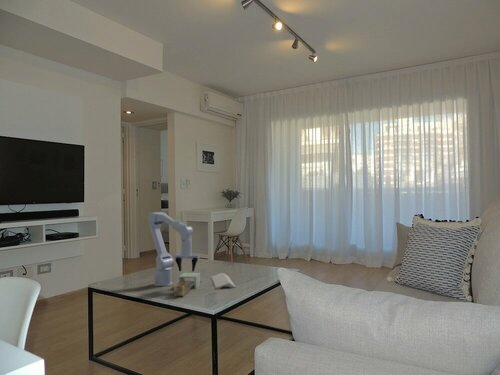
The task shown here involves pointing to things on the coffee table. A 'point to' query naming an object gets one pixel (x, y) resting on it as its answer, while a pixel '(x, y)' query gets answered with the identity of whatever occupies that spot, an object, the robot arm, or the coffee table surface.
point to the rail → (190, 287)
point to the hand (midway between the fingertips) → (186, 271)
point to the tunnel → (191, 275)
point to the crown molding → (221, 281)
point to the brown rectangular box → (181, 288)
